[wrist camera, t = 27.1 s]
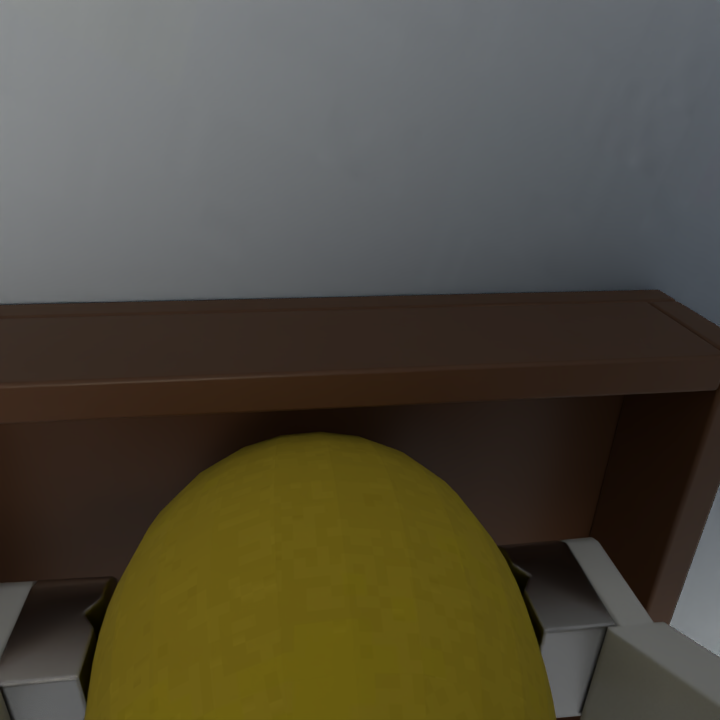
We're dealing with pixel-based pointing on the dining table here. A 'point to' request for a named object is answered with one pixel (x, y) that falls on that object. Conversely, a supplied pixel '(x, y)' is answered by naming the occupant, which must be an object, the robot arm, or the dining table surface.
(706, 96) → the dining table surface
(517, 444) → the tray
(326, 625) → the lemon
